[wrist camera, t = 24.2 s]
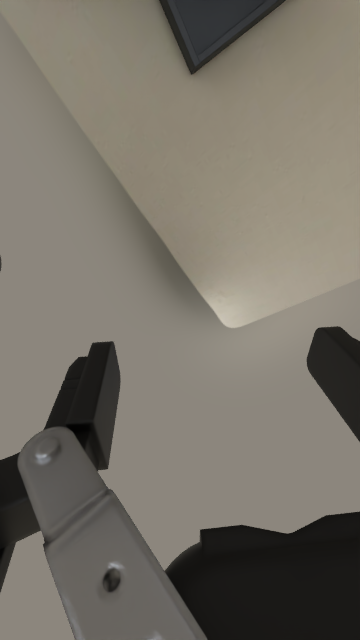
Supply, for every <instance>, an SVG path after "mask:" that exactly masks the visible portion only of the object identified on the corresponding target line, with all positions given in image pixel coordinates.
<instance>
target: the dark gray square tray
mask: <svg viewBox="0 0 360 640" xmlns="http://www.w3.org/2000/svg"><path fill="white" fill-rule="evenodd" d="M159 1H160V3H161V5H162V8H163V10H164V12H165V15H166V17H167V19H168V22H169V24H170V26H171V29H172V31H173V33H174V36H175V38H176V40H177V43H178V45H179V47H180V50H181V52H182V54H183V57H184V59H185V61H186V64H187V66H188V68H189V71H190V73H191V75H192V74H193V73H195V72H196V71H197V70H199V69H200V68H201V67H202V66H204V65H205V64H206V63H207V62H209V61H210V60H211V59H212V58H214V57H215V56H216V55H217V54H219V53H220V52H221V51H223V50H224V49H225V48H226V47H228V46H229V45H230V44H231V43H233V42H234V41H235V40H236V39H238V38H239V37H240V36H241V35H243V34H244V33H245V32H246V31H248V30H249V29H250V28H252V27H253V26H254V25H255V24H257V23H258V22H259V21H260V20H262V19H263V18H264V17H265V16H267V15H268V14H269V13H270V12H272V11H273V10H274V9H276V8H277V7H278V6H279V5H281V4H282V3H283V2H284V1H286V0H159Z"/></svg>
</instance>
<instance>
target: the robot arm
mask: <svg viewBox="0 0 360 640" xmlns="http://www.w3.org/2000/svg"><path fill="white" fill-rule="evenodd" d="M307 367H308V370H309V372H310V373H311V375H312V376H313V377H314V379H315V380H316V382H317V383H318V385H319V386H320V387H321V389H322V390H323V392H324V393H325V394H326V396H327V397H328V398H329V400H330V401H331V403H332V404H333V405H334V407H335V408H336V409H337V411H338V412H339V414H340V415H341V417H342V418H343V419H344V421H345V422H346V423H347V425H348V426H349V427H350V429H351V430H352V432H353V433H354V434H355V436H356V437H357V439H358V440H359V441H360V341H358V340H356V339H354V338H352V337H351V336H350V335H349V334H348V333H347V332H345V330H343V329H342V328H341V327H338V326H337V327H322V328H318V329H317V330H316V331H315V333H314V337H313V340H312V343H311V346H310V350H309V353H308V357H307ZM119 391H120V370H119V365H118V360H117V355H116V350H115V345H114V342H112V341H111V342H97V343H92V345H91V348H90V351H89V354H88V357H78V359H77V360H76V361H75V362H74V363H73V364H72V365H71V366H70V367H69V369H68V371H67V374H66V377H65V380H64V381H63V384H62V386H61V390H60V391H59V394H58V396H57V399H56V401H55V403H54V406H53V408H52V411H51V413H50V416H49V419H48V421H47V423H46V426H45V428H44V430H43V431H41V432H39V433H38V434H36V435H35V436H33V437H32V438H31V439H30V440H29V441H28V442H27V443H26V444H25V445H24V447H23V449H22V450H21V452H19V453H17V454H15V455H13V456H10V457H8V458H5V459H2V460H0V592H1V589H2V586H3V582H4V579H5V576H6V573H7V569H8V566H9V563H10V560H11V557H12V553H13V550H14V547H15V543H16V542H17V541H19V540H22V539H24V538H26V537H28V536H30V535H32V534H34V533H36V532H38V531H42V534H43V537H44V541H45V543H44V544H43V546H44V551H45V555H46V559H47V561H48V564H49V567H50V570H51V573H52V576H53V578H54V581H55V584H56V587H57V590H58V593H59V595H60V598H61V601H62V604H63V607H64V609H65V612H66V615H67V618H68V620H69V623H70V626H71V629H72V632H73V635H74V638H75V640H360V512H353V513H345V514H335V515H326V516H324V517H322V518H320V519H318V520H316V521H314V522H313V523H310V524H309V525H307V526H305V527H303V528H301V529H299V530H297V531H295V532H293V533H289V534H286V533H280V532H275V531H270V530H265V529H260V528H254V527H250V526H244V525H238V526H228V527H220V528H211V529H202V530H200V542H199V543H197V544H195V545H193V546H191V547H190V548H188V549H187V550H185V551H184V552H182V553H181V554H180V555H179V556H178V557H177V558H176V559H175V560H174V561H173V562H172V563H171V564H170V565H169V566H168V568H167V569H166V570H165V571H164V570H163V568H162V567H161V565H160V564H159V562H158V560H157V559H156V557H155V556H154V554H153V553H152V551H151V549H150V548H149V546H148V545H147V543H146V541H145V540H144V538H143V537H142V535H141V534H140V532H139V530H138V529H137V527H136V526H135V524H134V523H133V521H132V519H131V518H130V516H129V515H128V513H127V512H126V510H125V508H124V507H123V505H122V504H121V502H120V501H119V499H118V498H117V496H116V495H115V493H114V492H113V491H112V490H111V489H108V487H107V486H106V485H105V483H104V481H103V480H102V478H101V477H100V475H99V474H98V472H97V471H98V470H105V469H108V465H109V458H110V451H111V444H112V438H113V431H114V425H115V418H116V410H117V404H118V397H119Z"/></svg>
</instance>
